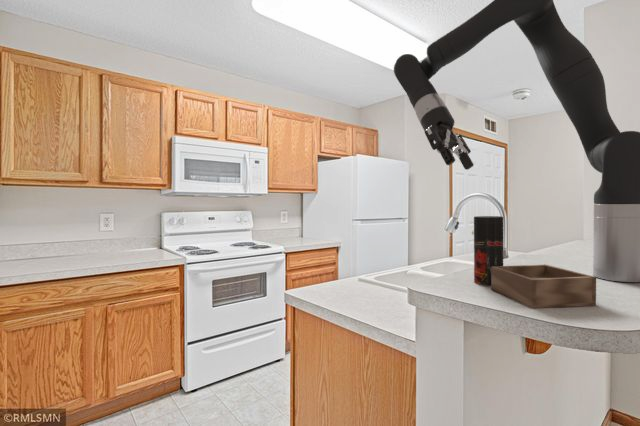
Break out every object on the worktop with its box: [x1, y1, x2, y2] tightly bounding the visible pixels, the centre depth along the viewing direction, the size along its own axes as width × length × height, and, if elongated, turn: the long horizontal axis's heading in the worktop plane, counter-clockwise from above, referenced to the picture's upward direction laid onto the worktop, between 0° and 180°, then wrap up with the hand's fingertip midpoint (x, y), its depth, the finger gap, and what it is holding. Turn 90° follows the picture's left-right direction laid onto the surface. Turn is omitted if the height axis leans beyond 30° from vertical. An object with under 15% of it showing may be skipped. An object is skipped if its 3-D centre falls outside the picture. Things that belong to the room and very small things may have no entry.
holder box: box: [490, 263, 597, 309], centre depth 66 cm, size 12×12×5 cm
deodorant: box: [473, 215, 504, 287], centre depth 77 cm, size 6×6×15 cm
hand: (460, 165), depth 84 cm, fingers open, 8 cm apart
